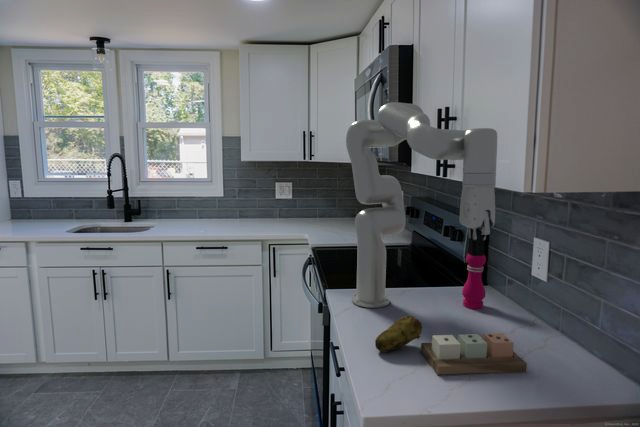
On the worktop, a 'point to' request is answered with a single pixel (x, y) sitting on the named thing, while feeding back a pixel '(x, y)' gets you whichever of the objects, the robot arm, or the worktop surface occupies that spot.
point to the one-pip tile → (445, 347)
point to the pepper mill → (474, 283)
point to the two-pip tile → (472, 346)
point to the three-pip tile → (498, 345)
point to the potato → (399, 334)
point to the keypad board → (473, 364)
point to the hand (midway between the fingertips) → (476, 255)
